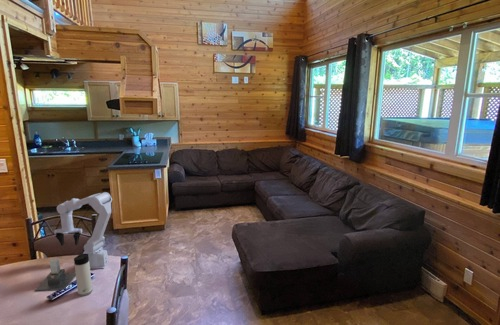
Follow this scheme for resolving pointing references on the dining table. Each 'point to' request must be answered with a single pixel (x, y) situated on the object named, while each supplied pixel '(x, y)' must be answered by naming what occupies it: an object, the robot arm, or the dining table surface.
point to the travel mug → (83, 274)
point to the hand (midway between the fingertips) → (69, 244)
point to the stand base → (56, 281)
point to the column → (55, 266)
